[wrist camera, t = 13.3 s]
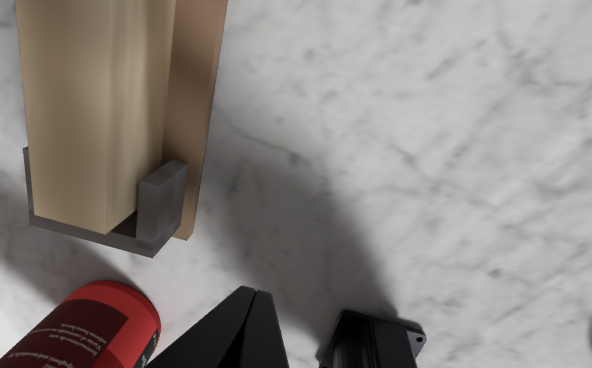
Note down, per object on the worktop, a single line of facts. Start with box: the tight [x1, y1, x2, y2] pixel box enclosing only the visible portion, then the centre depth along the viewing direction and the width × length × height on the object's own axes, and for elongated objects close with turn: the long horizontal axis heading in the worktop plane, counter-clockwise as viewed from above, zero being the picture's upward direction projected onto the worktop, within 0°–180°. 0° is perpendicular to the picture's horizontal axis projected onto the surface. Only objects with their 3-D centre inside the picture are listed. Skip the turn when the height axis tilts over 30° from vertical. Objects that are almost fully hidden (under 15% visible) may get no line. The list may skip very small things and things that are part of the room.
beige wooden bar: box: [15, 0, 176, 235], centre depth 14 cm, size 4×16×5 cm, turn 165°
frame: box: [23, 0, 228, 258], centre depth 15 cm, size 22×8×4 cm, turn 165°
